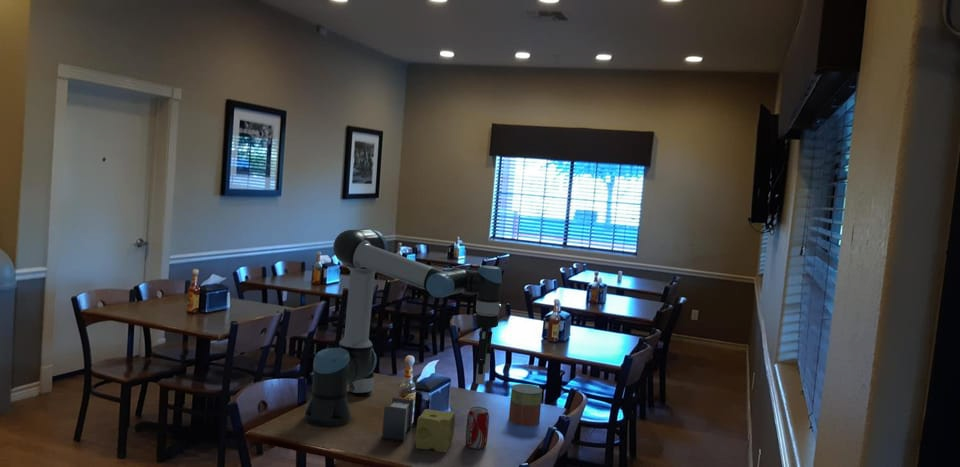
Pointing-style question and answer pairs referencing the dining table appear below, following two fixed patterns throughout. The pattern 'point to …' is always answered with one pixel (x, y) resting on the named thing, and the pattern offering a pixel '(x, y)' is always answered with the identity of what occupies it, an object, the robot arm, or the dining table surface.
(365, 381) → the spread jar
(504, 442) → the dining table surface
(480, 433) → the soda can
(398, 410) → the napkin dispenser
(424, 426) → the cheese
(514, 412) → the canned food
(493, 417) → the dining table surface
